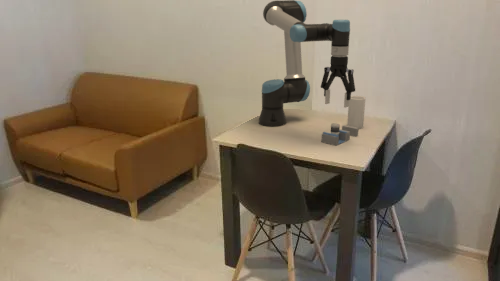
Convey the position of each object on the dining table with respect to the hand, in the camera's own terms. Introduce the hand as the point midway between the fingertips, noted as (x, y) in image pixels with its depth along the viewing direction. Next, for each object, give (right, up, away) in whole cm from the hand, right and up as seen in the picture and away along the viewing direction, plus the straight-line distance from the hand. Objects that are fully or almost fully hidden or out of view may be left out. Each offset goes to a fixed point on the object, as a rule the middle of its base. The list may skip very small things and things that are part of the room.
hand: (336, 105), depth 185 cm
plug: (0, -16, +5) cm, 17 cm away
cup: (+16, -9, +28) cm, 34 cm away
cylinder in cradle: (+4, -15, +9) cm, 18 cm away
